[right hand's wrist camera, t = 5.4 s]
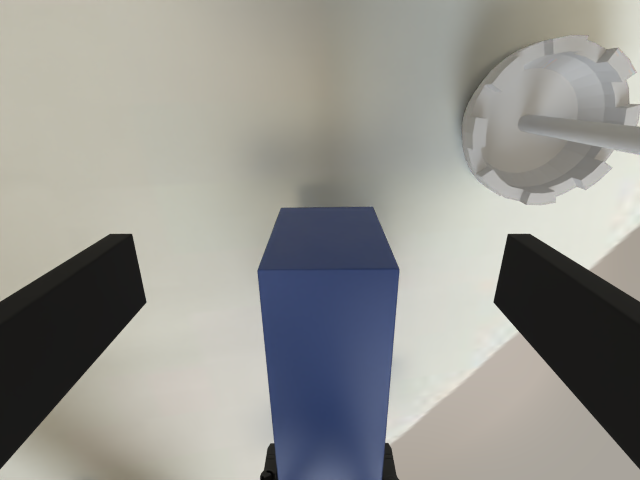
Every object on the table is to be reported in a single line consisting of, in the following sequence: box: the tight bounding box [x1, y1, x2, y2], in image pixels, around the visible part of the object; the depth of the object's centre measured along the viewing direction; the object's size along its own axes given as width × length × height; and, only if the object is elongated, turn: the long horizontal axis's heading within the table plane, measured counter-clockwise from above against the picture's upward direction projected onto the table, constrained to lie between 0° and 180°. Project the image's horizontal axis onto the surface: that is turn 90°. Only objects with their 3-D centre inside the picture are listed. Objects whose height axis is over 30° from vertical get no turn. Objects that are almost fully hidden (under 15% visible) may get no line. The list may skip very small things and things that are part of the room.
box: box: [258, 207, 399, 480], centre depth 28 cm, size 25×8×11 cm, turn 1°
